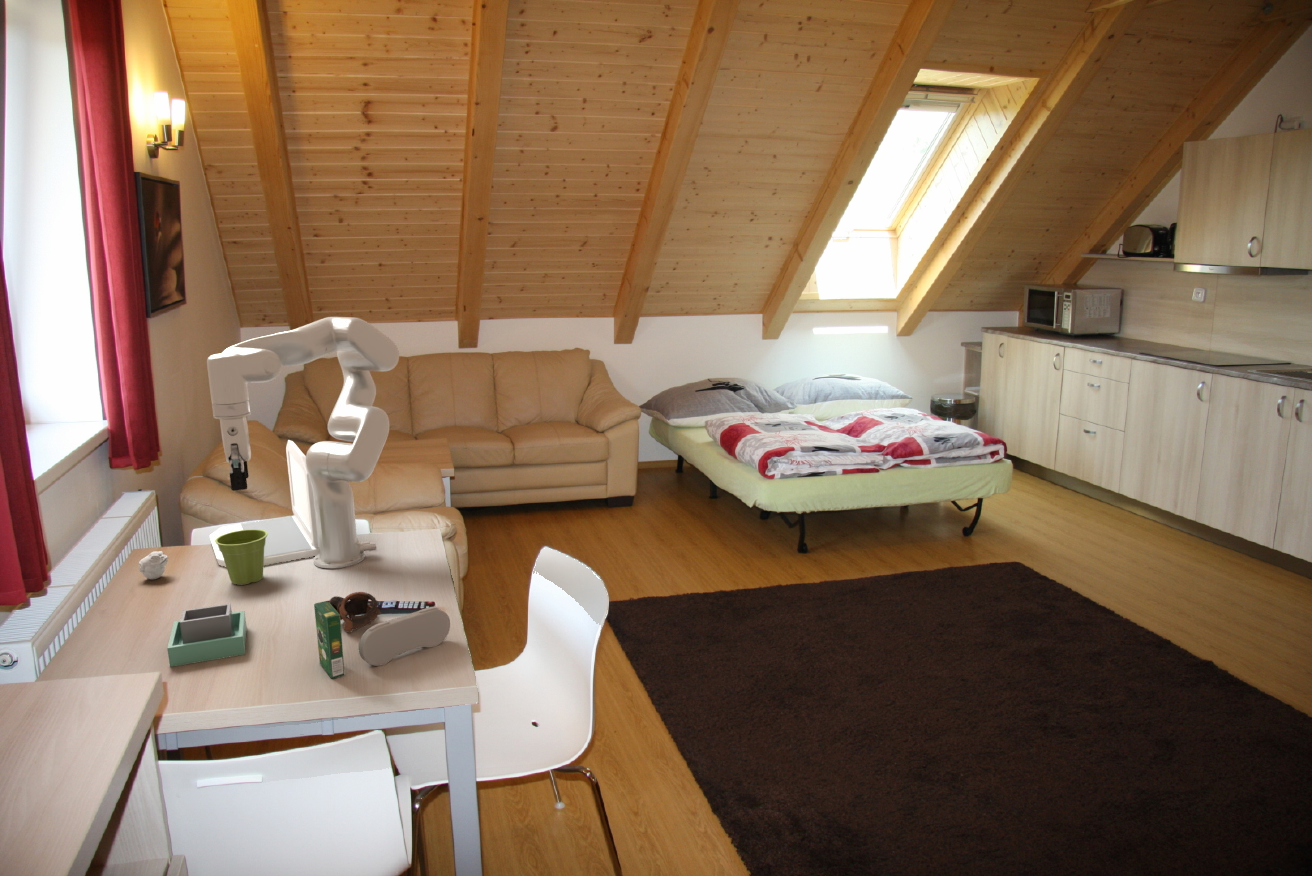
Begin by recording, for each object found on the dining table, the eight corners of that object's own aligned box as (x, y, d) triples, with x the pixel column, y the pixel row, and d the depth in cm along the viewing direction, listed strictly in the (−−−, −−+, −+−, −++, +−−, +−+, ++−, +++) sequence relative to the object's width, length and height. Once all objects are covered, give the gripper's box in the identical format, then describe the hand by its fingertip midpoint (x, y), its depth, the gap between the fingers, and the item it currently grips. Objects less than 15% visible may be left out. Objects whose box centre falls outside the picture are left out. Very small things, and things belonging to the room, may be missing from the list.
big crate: (246, 627, 199) (244, 610, 198) (244, 654, 186) (242, 636, 185) (176, 638, 194) (174, 621, 193) (169, 666, 181) (167, 648, 181)
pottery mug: (389, 616, 205) (387, 593, 200) (369, 650, 198) (367, 627, 193) (338, 601, 206) (336, 578, 201) (317, 634, 199) (314, 611, 194)
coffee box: (346, 676, 177) (340, 613, 174) (331, 680, 175) (325, 617, 172) (334, 660, 183) (328, 599, 180) (319, 664, 182) (313, 603, 179)
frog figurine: (163, 583, 224) (159, 556, 223) (134, 583, 224) (130, 556, 223) (176, 574, 230) (172, 547, 228) (148, 574, 230) (144, 547, 229)
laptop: (208, 536, 258) (196, 445, 252) (298, 522, 270) (289, 434, 264) (220, 574, 230) (207, 473, 224) (320, 556, 242) (311, 459, 236)
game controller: (446, 637, 194) (443, 600, 192) (452, 640, 192) (449, 603, 190) (359, 668, 181) (355, 629, 179) (364, 672, 179) (361, 632, 177)
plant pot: (274, 568, 233) (269, 526, 230) (270, 585, 222) (265, 541, 219) (223, 574, 229) (217, 531, 227) (217, 592, 218) (211, 547, 216)
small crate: (234, 631, 194) (230, 603, 193) (232, 644, 189) (229, 615, 187) (187, 639, 191) (183, 610, 190) (184, 652, 185) (179, 622, 184)
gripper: (248, 415, 196) (257, 492, 200) (250, 401, 212) (259, 472, 216) (210, 418, 193) (219, 496, 197) (215, 404, 209) (224, 476, 213)
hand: (240, 483), depth 206 cm, fingers open, 9 cm apart
